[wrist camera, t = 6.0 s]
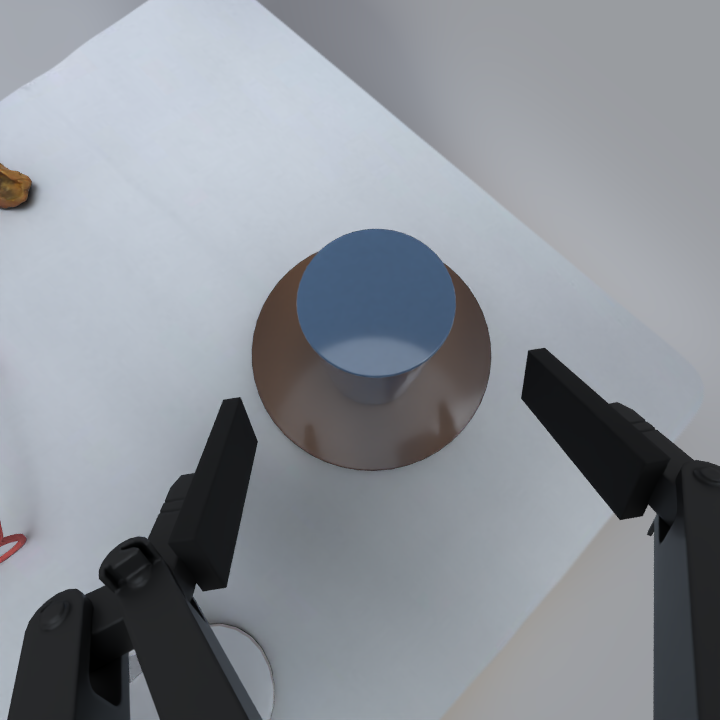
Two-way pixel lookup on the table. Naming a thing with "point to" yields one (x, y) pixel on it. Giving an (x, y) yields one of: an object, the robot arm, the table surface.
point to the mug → (244, 661)
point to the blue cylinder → (375, 312)
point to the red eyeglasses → (16, 537)
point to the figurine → (13, 187)
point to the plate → (358, 421)
